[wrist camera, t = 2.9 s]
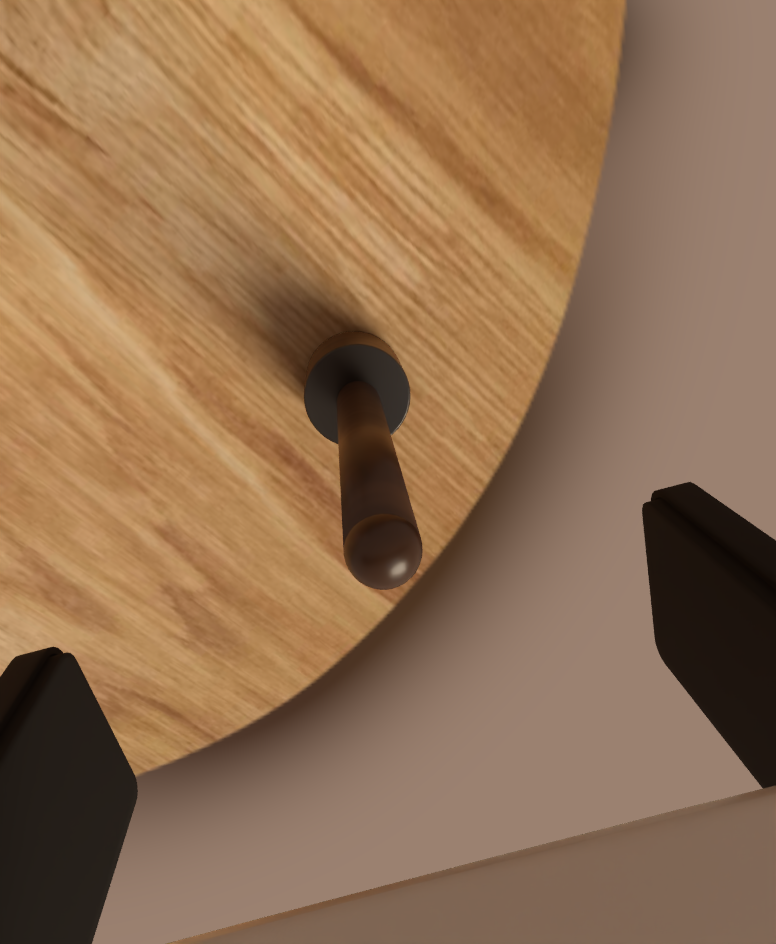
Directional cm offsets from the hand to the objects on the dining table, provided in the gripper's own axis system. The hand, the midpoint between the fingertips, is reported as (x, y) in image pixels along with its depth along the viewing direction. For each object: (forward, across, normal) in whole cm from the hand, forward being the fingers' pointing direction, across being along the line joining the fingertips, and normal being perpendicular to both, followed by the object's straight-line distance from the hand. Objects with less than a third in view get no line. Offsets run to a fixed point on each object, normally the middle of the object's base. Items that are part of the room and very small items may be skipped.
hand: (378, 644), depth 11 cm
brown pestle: (+18, -1, 0) cm, 18 cm away
